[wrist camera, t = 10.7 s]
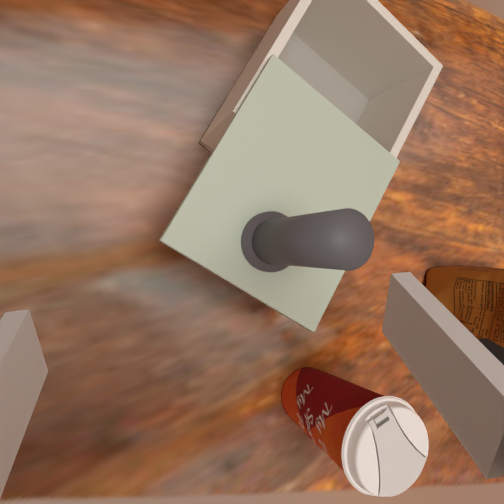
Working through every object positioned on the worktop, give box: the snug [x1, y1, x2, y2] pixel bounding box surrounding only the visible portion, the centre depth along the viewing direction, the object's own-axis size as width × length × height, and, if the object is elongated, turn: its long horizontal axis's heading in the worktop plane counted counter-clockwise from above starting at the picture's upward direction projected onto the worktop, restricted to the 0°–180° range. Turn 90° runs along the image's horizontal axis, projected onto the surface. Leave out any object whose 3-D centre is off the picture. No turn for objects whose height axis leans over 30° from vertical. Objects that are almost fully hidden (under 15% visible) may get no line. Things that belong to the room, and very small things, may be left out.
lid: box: [159, 54, 400, 332], centre depth 27 cm, size 14×16×11 cm
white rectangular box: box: [199, 0, 443, 158], centre depth 39 cm, size 14×16×10 cm
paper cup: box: [281, 368, 428, 497], centre depth 38 cm, size 8×8×14 cm
